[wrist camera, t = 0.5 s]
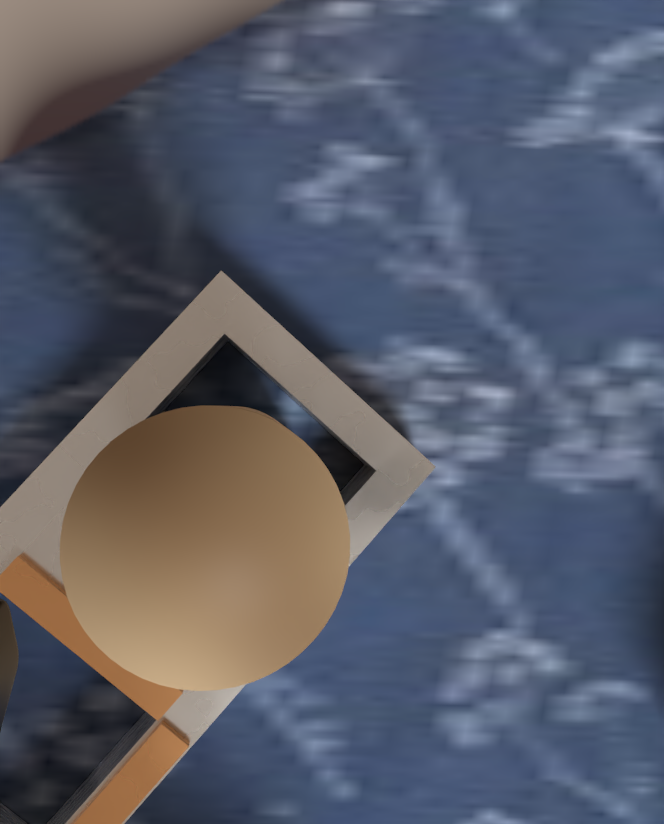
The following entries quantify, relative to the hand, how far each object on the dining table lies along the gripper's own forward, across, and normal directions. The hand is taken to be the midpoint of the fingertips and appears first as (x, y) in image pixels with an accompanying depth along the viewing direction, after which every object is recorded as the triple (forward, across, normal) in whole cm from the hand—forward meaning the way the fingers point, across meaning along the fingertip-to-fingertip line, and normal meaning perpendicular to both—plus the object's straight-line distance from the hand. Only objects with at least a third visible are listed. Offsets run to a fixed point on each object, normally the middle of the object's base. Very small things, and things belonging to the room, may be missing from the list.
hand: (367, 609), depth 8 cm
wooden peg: (+15, +2, +6) cm, 16 cm away
